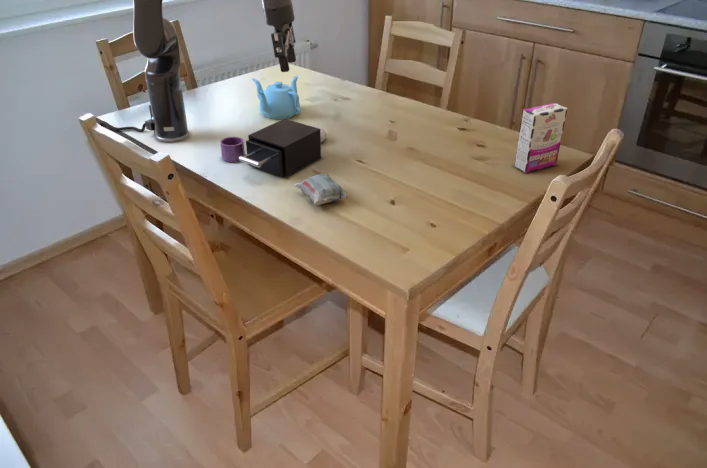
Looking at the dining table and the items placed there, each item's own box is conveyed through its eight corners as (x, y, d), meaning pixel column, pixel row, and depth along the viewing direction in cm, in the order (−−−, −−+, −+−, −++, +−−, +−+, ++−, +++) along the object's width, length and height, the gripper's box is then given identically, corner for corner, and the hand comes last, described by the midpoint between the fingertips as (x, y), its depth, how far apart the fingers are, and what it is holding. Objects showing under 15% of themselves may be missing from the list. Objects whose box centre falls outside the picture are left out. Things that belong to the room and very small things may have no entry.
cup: (217, 159, 160) (215, 142, 157) (233, 151, 164) (231, 134, 162) (233, 165, 157) (231, 147, 154) (249, 157, 161) (248, 140, 159)
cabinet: (286, 177, 151) (284, 146, 147) (250, 164, 157) (248, 135, 153) (321, 158, 161) (320, 128, 157) (286, 146, 167) (284, 118, 163)
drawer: (266, 184, 146) (264, 159, 143) (233, 171, 152) (230, 147, 148) (312, 158, 159) (312, 134, 156) (281, 147, 165) (279, 125, 161)
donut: (288, 145, 168) (321, 148, 167) (287, 134, 167) (321, 137, 165) (297, 132, 177) (329, 134, 175) (297, 121, 175) (329, 124, 173)
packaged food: (314, 213, 136) (314, 194, 134) (294, 191, 145) (293, 173, 142) (347, 204, 140) (348, 186, 137) (325, 184, 149) (325, 166, 146)
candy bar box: (543, 158, 163) (555, 101, 154) (556, 165, 159) (569, 108, 151) (512, 166, 159) (522, 108, 150) (525, 173, 155) (536, 114, 146)
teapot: (305, 120, 184) (304, 88, 179) (257, 123, 182) (254, 91, 176) (299, 104, 197) (298, 74, 191) (254, 107, 194) (251, 76, 188)
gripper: (269, -1, 156) (281, 60, 164) (255, 11, 144) (269, 76, 152) (297, -4, 154) (307, 57, 163) (285, 8, 142) (297, 73, 151)
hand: (288, 66), depth 158 cm, fingers open, 8 cm apart
